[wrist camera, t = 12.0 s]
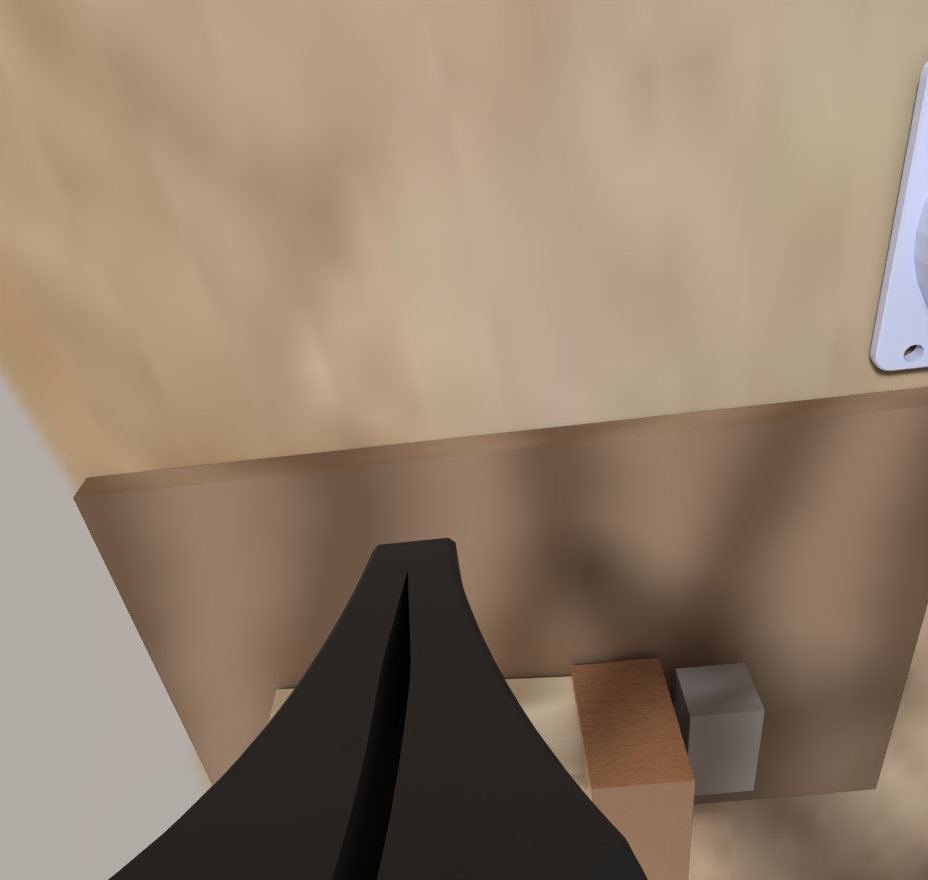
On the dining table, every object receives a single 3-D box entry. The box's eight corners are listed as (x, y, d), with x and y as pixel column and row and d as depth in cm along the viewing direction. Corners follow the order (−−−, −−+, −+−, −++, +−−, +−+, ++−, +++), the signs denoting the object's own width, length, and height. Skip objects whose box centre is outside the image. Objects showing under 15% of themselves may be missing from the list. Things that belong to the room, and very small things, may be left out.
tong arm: (650, 672, 27) (666, 732, 25) (645, 710, 28) (661, 770, 26) (276, 689, 27) (262, 749, 25) (285, 726, 28) (273, 786, 26)
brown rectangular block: (658, 657, 26) (695, 780, 22) (655, 772, 30) (686, 896, 26) (570, 665, 26) (591, 789, 23) (577, 778, 30) (596, 903, 26)
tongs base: (964, 383, 22) (1045, 452, 19) (864, 766, 32) (908, 853, 29) (86, 477, 24) (32, 556, 21) (245, 819, 33) (224, 907, 30)
